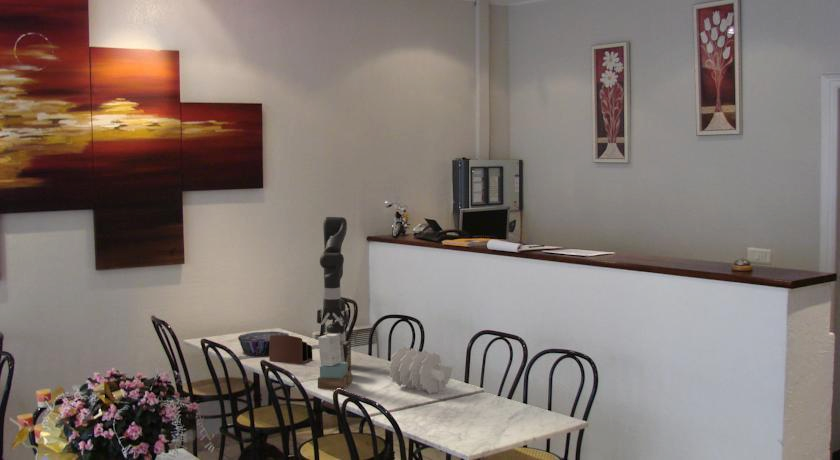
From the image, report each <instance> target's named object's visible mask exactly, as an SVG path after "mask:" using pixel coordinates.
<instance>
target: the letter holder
mask: <svg viewBox="0 0 840 460" xmlns="http://www.w3.org/2000/svg"><path fill="white" fill-rule="evenodd" d="M268 355H269V357H268V358H269V359H268V360H269V362H275V363H276V362H277V363H285V364H292V365H293V364H294V365H301V364H302V365H304V364H307V363H309V362H312V361H313V347H312V345H310V344H308V343H307V342H306V341H304V340H303V339H302V337H299V336H293V335H290V334H289V335H271V336H270V338H269V354H268Z"/></svg>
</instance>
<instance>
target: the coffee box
mask: <svg viewBox="0 0 840 460" xmlns="http://www.w3.org/2000/svg"><path fill="white" fill-rule="evenodd" d="M340 350H341V360H342V362H347V363H348V373H352V341H351V340H345V341H340Z"/></svg>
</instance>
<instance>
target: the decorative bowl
mask: <svg viewBox="0 0 840 460" xmlns="http://www.w3.org/2000/svg"><path fill="white" fill-rule="evenodd" d="M271 335H289V336H290V334H289V333H287V332H284V331H255V332H248V333H247V332H246V333H243V334H240V335H239V336H238V337H237V339H238V341H239V343H240V347H241V349H242V351H243V353H245V352H246V353H248V354H247V355H249V354H263V355H264V354H266V355H269V338H270V336H271ZM246 353H245V354H246Z"/></svg>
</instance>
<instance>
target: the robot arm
mask: <svg viewBox="0 0 840 460" xmlns="http://www.w3.org/2000/svg"><path fill="white" fill-rule="evenodd" d="M322 225H323V241H324V242H323V244H324V246H323V247H324V249H323V250H324V251H323V252H322V253H321V254H320V256H319V265H320V266H321V268H322V269H323V282H324V283H323V286H324V287H323V288H324V289H323V301H322V304H323V305H322V309H321V308H320V309H318V310H317V313H316V323H317V324H320V326H321V327H320V328H321V332H322V333H323V334H339V339H340V341H346V325H348V324H349V323H350V320H349V319H350V318H349V311H348V310H346V306H347V305H346V302H345V299H344V298H342V293H341V279H342V277H343V274H344V262H345V257H344V255H343V254H342V253H341V252H342V245H343V242H344V240H345V237H346V234H347V231H348V222H347V218H345V217H342V216H326V217H324V220H323V224H322ZM322 316H323V317H324V318H323V317H322ZM327 321H334V322H331V323H330V324H326V322H327ZM326 325H327V326H326Z"/></svg>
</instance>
